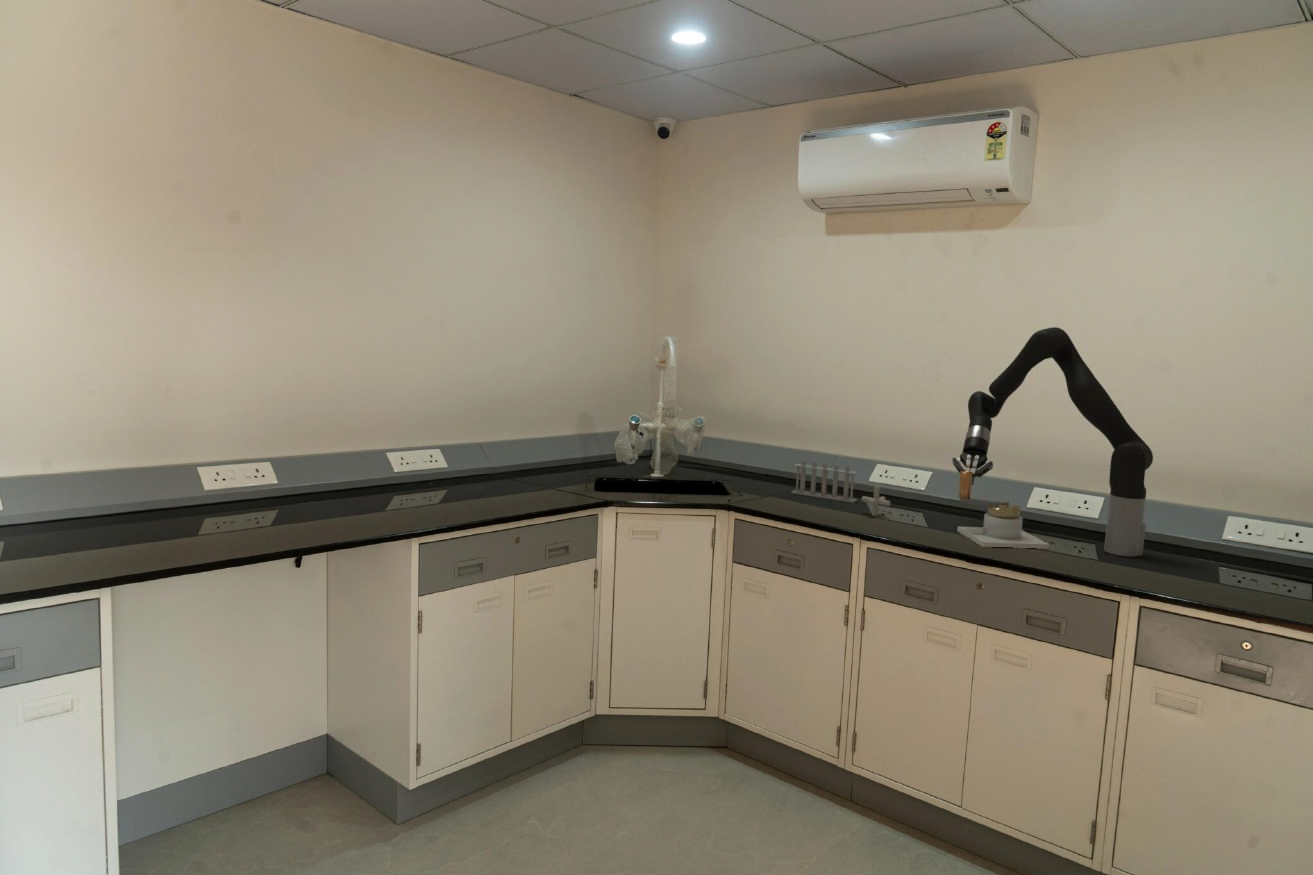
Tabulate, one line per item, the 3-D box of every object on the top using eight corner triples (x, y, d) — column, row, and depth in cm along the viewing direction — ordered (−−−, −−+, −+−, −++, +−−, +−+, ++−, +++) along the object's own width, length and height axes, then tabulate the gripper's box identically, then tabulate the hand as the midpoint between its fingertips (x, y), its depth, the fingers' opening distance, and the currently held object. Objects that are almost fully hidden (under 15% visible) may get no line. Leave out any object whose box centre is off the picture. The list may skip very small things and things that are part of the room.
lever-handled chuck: (1021, 514, 265) (1025, 476, 263) (1016, 519, 257) (1020, 480, 255) (960, 506, 274) (963, 469, 272) (954, 511, 266) (957, 472, 265)
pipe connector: (895, 515, 293) (897, 487, 292) (881, 519, 286) (883, 490, 284) (869, 510, 300) (871, 482, 298) (854, 514, 292) (856, 486, 291)
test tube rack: (856, 501, 317) (859, 466, 315) (852, 502, 313) (854, 467, 311) (795, 491, 331) (797, 458, 329) (790, 493, 327) (792, 459, 326)
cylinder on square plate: (1018, 532, 274) (1020, 510, 273) (1048, 549, 254) (1051, 524, 253) (957, 531, 274) (959, 508, 273) (982, 547, 254) (984, 522, 253)
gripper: (955, 433, 279) (945, 475, 270) (998, 437, 273) (989, 480, 264) (956, 447, 285) (947, 489, 276) (998, 451, 278) (990, 494, 269)
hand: (968, 485), depth 270 cm, fingers closed
